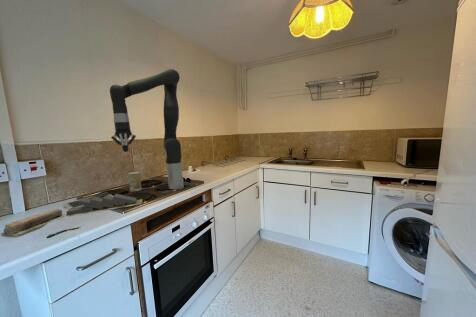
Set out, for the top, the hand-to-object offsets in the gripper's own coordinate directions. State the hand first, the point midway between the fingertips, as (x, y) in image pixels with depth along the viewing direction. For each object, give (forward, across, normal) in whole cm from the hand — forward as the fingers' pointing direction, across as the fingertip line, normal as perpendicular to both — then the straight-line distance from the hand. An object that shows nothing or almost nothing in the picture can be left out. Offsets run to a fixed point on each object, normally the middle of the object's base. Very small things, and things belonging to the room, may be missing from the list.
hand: (126, 151), depth 112 cm
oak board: (+27, +8, +18) cm, 33 cm away
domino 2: (+25, +10, +18) cm, 32 cm away
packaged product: (+28, +33, +24) cm, 49 cm away
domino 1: (+25, +14, +18) cm, 34 cm away
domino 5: (+25, -4, +18) cm, 31 cm away
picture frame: (+28, +20, +1) cm, 35 cm away
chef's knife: (+28, +15, +35) cm, 47 cm away
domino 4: (+25, 0, +18) cm, 31 cm away
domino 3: (+25, +5, +18) cm, 31 cm away
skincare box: (+27, -1, -12) cm, 30 cm away
